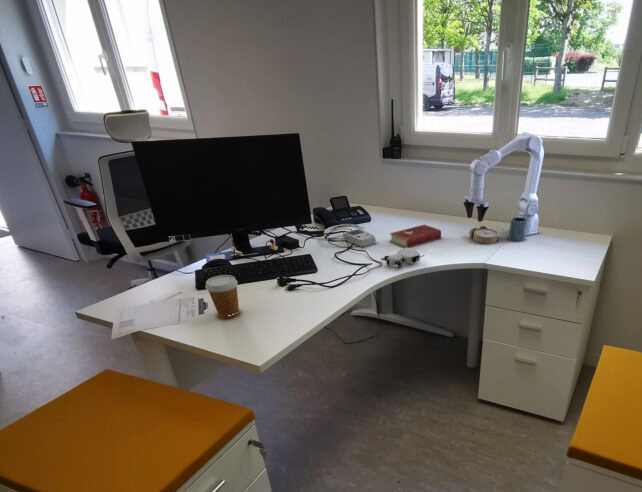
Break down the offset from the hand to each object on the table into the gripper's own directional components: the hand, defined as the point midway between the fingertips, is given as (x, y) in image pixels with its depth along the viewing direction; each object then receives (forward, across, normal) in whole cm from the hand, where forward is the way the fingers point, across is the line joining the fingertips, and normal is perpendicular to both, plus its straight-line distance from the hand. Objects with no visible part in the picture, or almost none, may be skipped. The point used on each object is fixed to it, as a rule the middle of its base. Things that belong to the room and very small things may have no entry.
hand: (474, 219), depth 209 cm
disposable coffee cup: (+9, +16, -117) cm, 118 cm away
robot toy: (+9, +9, -46) cm, 47 cm away
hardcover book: (+9, -13, -24) cm, 29 cm away
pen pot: (+9, +12, +16) cm, 22 cm away
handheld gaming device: (+9, -25, -47) cm, 54 cm away
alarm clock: (+9, +4, +2) cm, 10 cm away
